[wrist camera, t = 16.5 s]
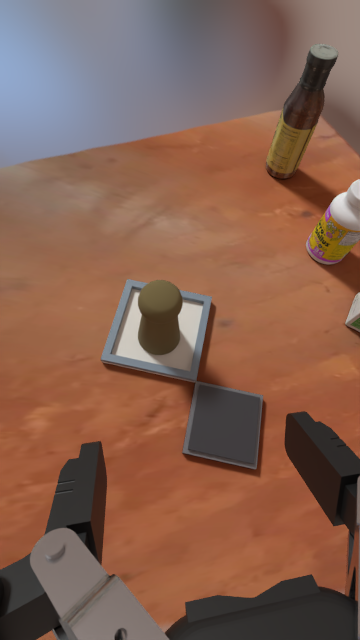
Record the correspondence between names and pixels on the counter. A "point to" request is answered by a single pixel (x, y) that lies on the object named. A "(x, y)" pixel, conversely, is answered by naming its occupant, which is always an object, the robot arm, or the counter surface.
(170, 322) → the olive tapered round piece
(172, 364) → the blank framed board
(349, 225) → the supplement bottle
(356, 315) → the skincare box
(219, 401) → the ink pad
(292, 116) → the sauce bottle
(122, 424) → the counter surface
